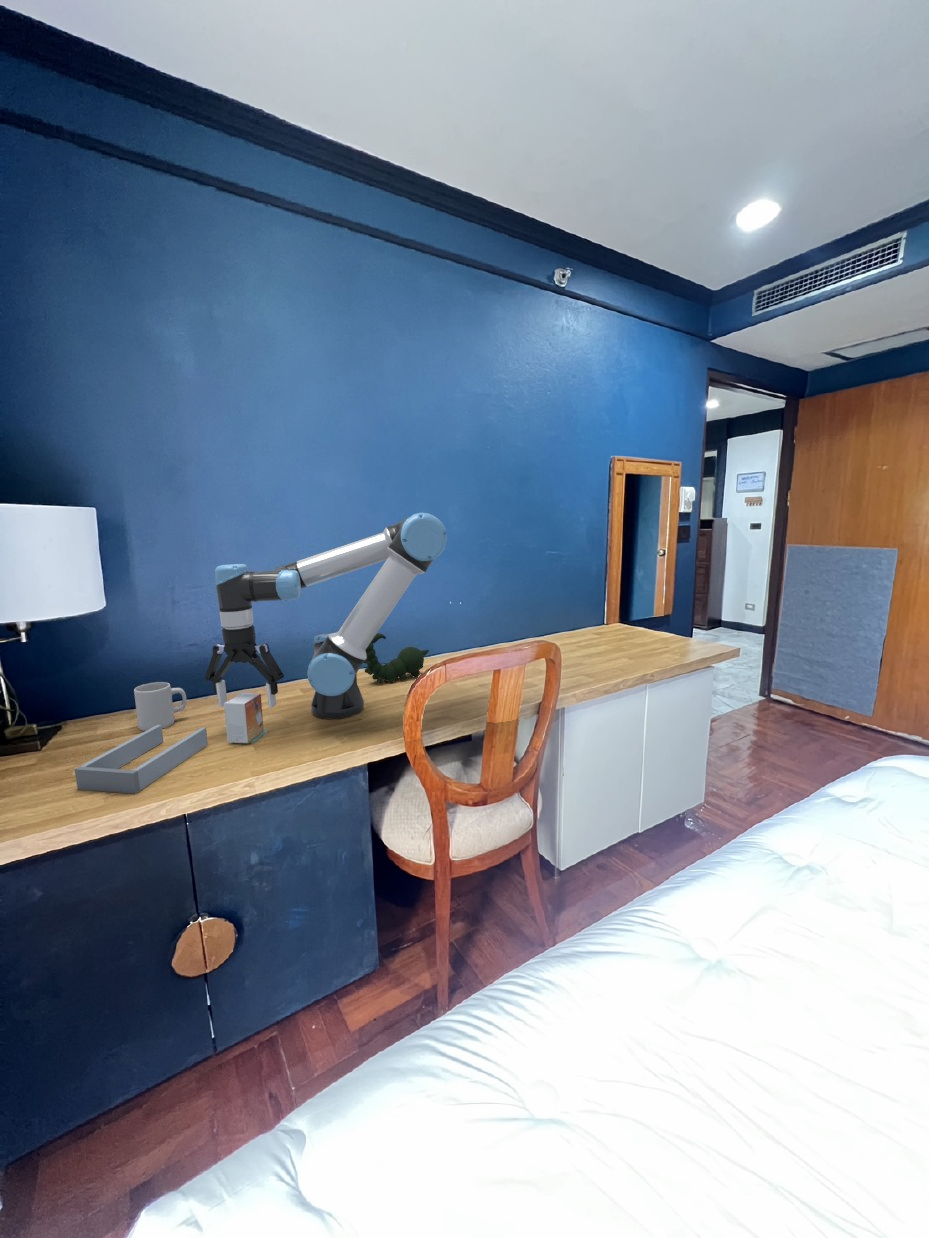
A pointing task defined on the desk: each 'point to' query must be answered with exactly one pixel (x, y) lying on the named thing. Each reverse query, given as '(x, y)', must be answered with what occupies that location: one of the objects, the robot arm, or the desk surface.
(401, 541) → the robot arm
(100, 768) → the channel
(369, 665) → the toy figurine
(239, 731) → the small box
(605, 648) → the desk surface
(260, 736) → the pad
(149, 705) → the mug
